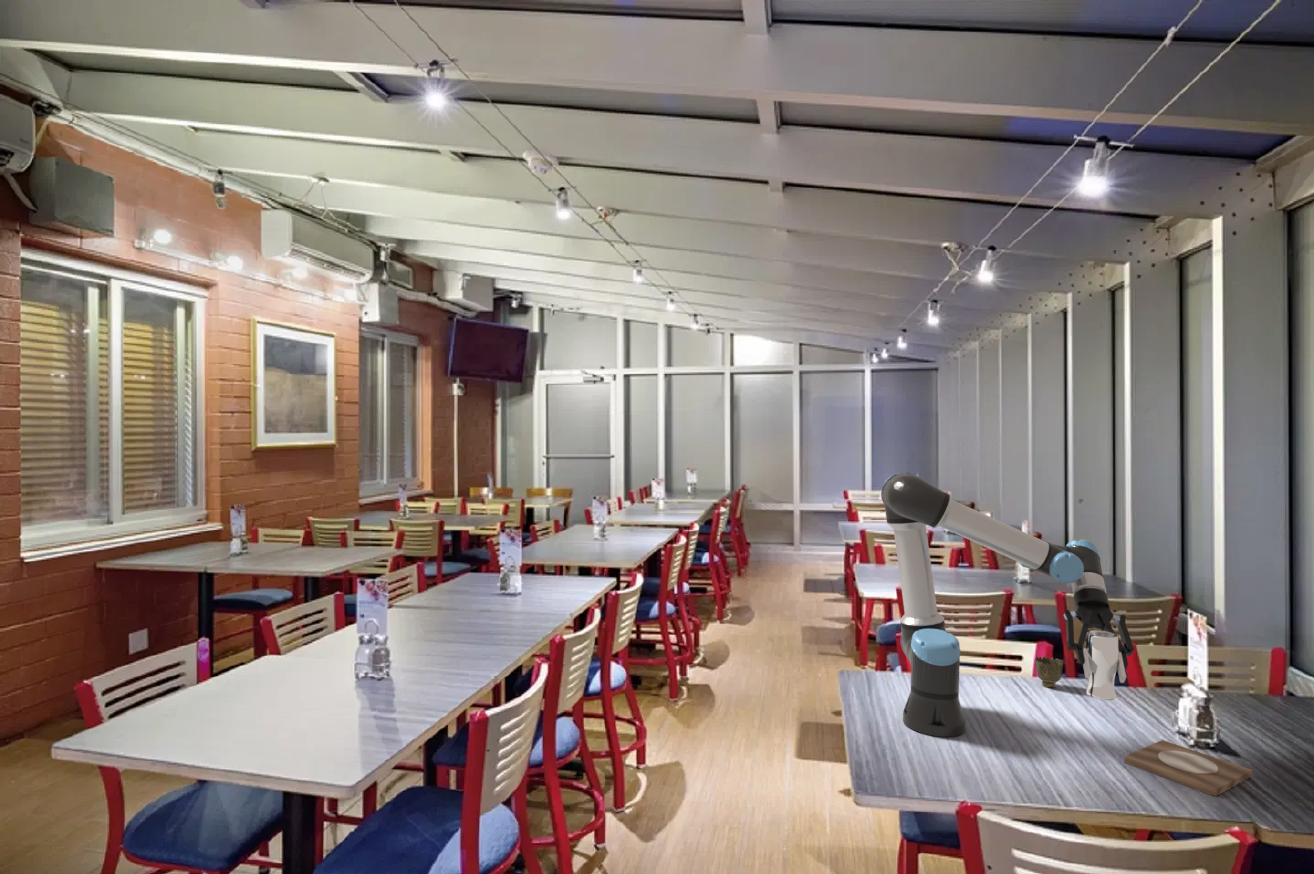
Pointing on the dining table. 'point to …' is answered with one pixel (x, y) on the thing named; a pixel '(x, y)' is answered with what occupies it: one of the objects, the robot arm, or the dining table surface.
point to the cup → (1049, 670)
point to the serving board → (1189, 767)
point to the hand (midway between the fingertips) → (1105, 677)
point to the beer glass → (1102, 663)
